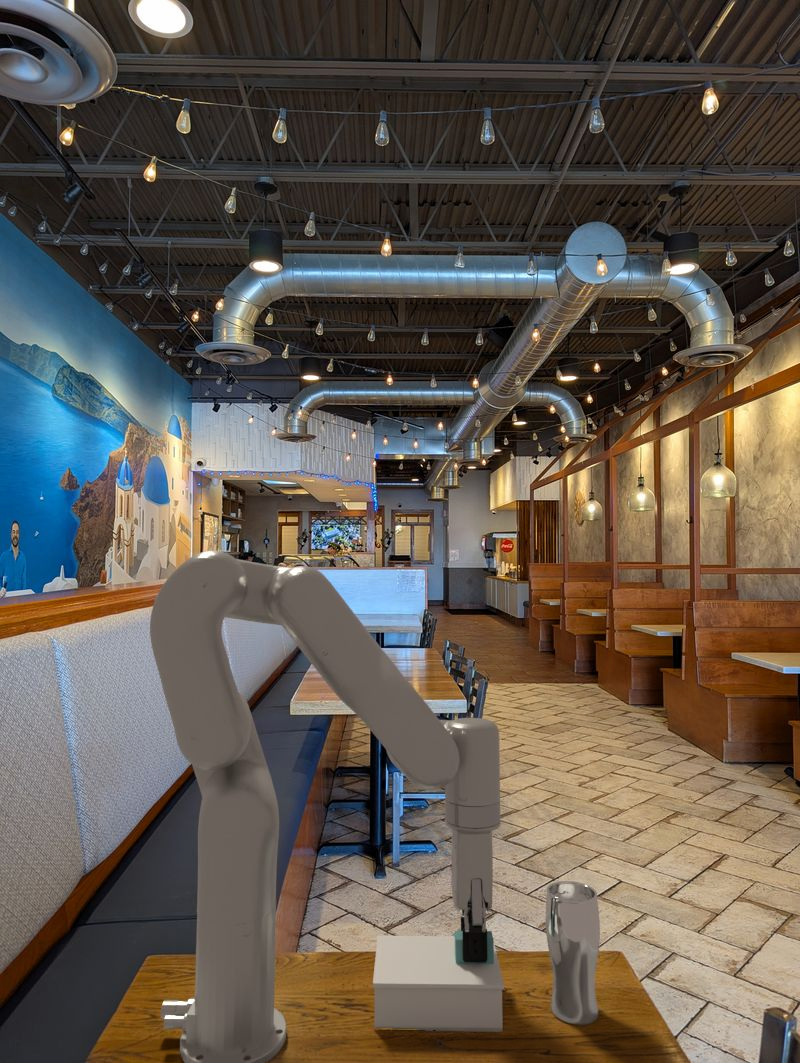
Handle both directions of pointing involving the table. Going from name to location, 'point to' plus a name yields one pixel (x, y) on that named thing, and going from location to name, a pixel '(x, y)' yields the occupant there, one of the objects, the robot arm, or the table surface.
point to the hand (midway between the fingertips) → (473, 953)
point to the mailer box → (439, 1009)
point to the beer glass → (573, 950)
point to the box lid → (433, 963)
